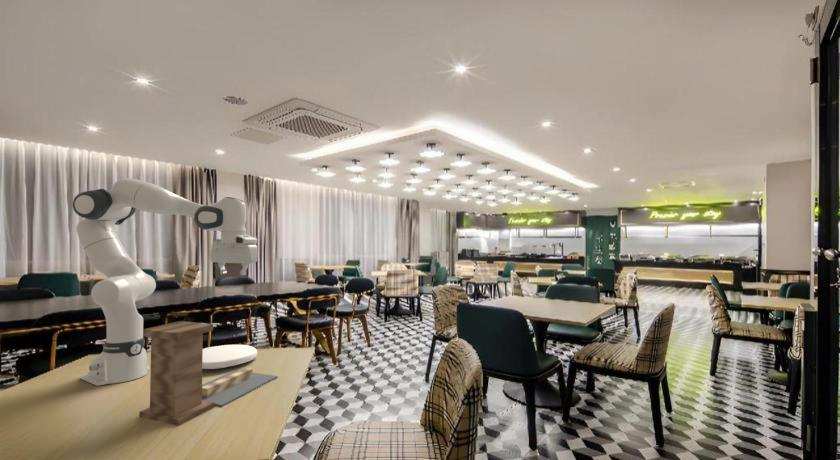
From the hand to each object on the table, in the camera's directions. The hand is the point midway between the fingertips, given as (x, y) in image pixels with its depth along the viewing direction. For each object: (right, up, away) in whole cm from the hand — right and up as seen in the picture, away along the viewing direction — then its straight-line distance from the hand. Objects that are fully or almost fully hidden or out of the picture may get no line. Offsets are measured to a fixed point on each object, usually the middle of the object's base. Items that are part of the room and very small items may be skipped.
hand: (233, 274), depth 146 cm
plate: (-12, -40, +15) cm, 44 cm away
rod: (+4, -38, -12) cm, 40 cm away
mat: (+5, -39, -12) cm, 41 cm away
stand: (-2, -38, -31) cm, 49 cm away
